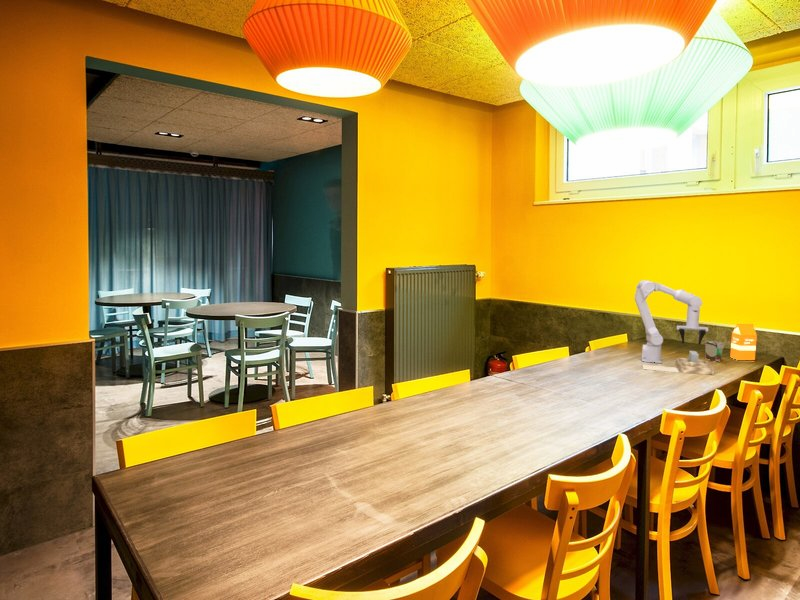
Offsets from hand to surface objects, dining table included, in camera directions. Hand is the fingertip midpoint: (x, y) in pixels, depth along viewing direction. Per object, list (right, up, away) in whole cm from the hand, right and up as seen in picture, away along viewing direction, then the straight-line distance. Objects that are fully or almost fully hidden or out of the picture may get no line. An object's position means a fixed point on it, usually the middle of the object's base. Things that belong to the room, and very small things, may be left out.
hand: (691, 343), depth 278 cm
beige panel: (-23, -12, -13) cm, 29 cm away
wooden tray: (-6, -12, -12) cm, 18 cm away
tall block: (-5, -12, -10) cm, 16 cm away
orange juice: (+34, -10, +10) cm, 37 cm away
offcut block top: (-9, -10, -20) cm, 24 cm away
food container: (+17, -10, +7) cm, 21 cm away
